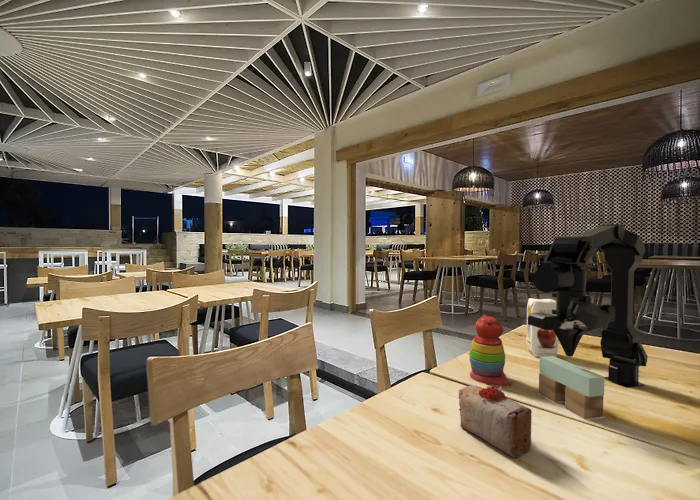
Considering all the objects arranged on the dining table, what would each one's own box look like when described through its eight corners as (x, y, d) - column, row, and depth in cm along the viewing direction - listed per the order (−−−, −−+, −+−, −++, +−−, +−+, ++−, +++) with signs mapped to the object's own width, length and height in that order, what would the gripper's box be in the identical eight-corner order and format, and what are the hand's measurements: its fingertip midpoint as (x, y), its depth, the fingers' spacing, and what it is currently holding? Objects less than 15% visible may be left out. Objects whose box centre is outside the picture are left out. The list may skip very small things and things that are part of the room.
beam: (539, 372, 87) (539, 357, 87) (552, 371, 88) (553, 355, 88) (588, 397, 74) (589, 378, 73) (604, 395, 74) (604, 377, 74)
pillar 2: (582, 405, 80) (583, 384, 80) (603, 416, 75) (603, 394, 75) (564, 408, 79) (565, 386, 79) (584, 419, 74) (584, 396, 74)
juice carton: (524, 350, 122) (525, 297, 122) (550, 351, 121) (551, 298, 121) (532, 357, 115) (533, 301, 114) (560, 359, 114) (561, 301, 113)
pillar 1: (555, 391, 88) (555, 371, 88) (572, 400, 83) (572, 379, 83) (538, 393, 87) (539, 373, 87) (554, 402, 82) (554, 381, 82)
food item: (452, 426, 72) (452, 379, 72) (478, 416, 76) (478, 372, 76) (510, 462, 60) (511, 407, 60) (538, 449, 64) (538, 397, 64)
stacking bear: (512, 389, 90) (513, 321, 90) (472, 385, 92) (472, 319, 92) (502, 373, 101) (503, 313, 100) (466, 371, 103) (467, 311, 103)
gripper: (565, 296, 70) (564, 371, 71) (638, 293, 74) (636, 365, 75) (526, 288, 81) (525, 354, 82) (591, 287, 85) (590, 349, 86)
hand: (569, 356), depth 81 cm, fingers closed
